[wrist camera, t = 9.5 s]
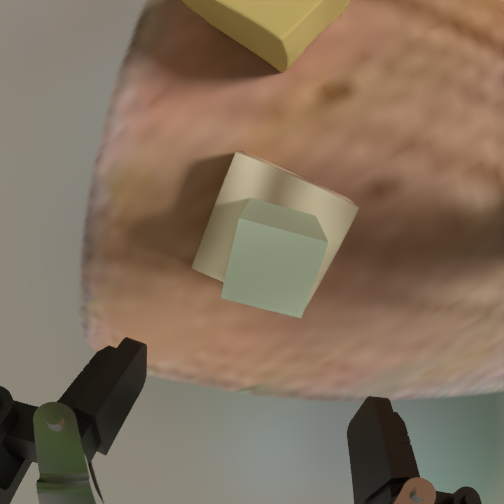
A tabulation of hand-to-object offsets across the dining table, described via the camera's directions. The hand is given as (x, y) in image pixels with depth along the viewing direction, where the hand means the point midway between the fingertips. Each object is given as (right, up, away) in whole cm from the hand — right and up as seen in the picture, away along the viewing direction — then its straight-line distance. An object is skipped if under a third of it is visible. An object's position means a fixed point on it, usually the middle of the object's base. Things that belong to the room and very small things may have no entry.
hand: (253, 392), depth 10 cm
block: (+2, +6, +16) cm, 17 cm away
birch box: (+2, +8, +20) cm, 22 cm away
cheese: (+2, +28, +13) cm, 31 cm away
